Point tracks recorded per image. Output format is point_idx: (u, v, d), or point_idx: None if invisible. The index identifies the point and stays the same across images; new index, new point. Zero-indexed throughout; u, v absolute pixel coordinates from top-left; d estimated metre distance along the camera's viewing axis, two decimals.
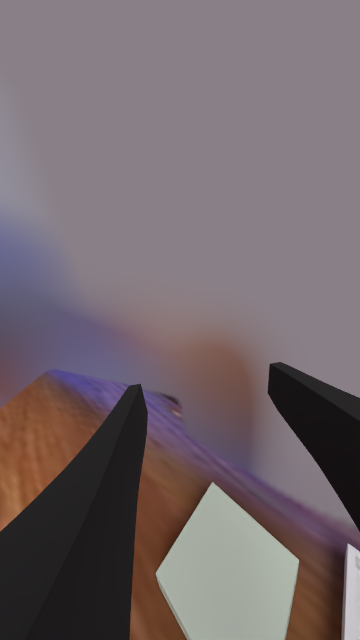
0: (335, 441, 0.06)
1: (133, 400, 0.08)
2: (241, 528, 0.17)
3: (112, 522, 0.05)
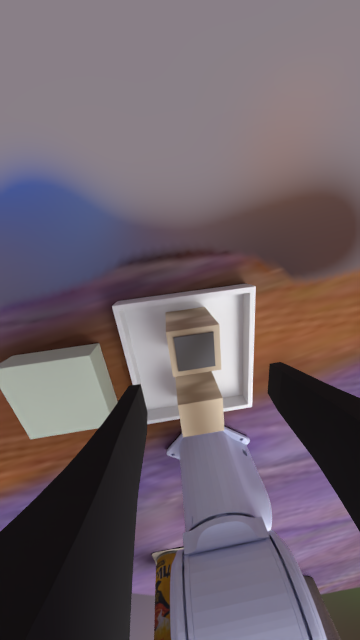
0: (335, 441, 0.06)
1: (133, 400, 0.08)
2: (45, 375, 0.16)
3: (112, 522, 0.05)
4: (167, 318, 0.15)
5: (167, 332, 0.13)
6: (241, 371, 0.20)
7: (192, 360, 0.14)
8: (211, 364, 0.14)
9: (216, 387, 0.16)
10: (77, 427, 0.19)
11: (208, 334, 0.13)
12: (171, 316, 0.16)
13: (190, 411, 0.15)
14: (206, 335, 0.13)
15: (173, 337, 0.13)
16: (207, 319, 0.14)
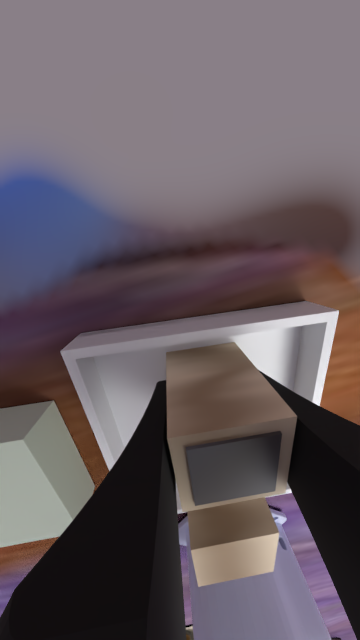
0: (293, 448, 0.06)
1: None
2: None
3: (168, 511, 0.05)
4: (170, 373, 0.08)
5: (171, 438, 0.05)
6: None
7: (227, 484, 0.06)
8: (266, 486, 0.06)
9: None
10: (19, 538, 0.11)
11: (267, 437, 0.05)
12: (177, 367, 0.08)
13: (214, 556, 0.08)
14: (266, 441, 0.05)
15: (186, 446, 0.05)
16: (256, 388, 0.06)
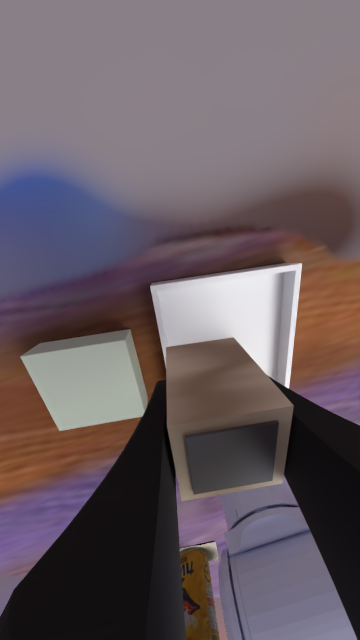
0: (293, 448, 0.06)
1: None
2: (77, 362, 0.15)
3: (168, 512, 0.05)
4: (169, 366, 0.08)
5: (170, 425, 0.05)
6: (276, 358, 0.19)
7: (225, 472, 0.06)
8: (264, 476, 0.06)
9: None
10: (108, 418, 0.18)
11: (265, 426, 0.06)
12: (177, 360, 0.08)
13: None
14: (263, 429, 0.05)
15: (185, 435, 0.05)
16: (254, 379, 0.07)
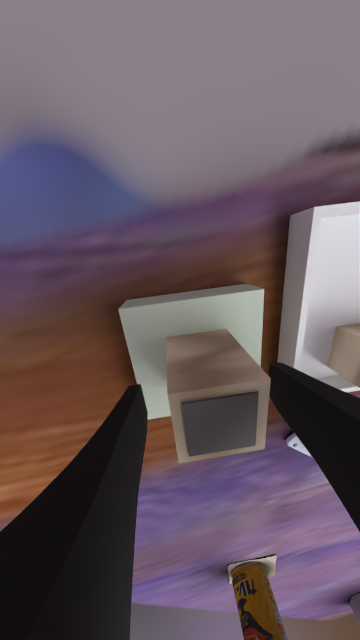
0: (335, 441, 0.06)
1: (133, 400, 0.08)
2: (193, 321, 0.11)
3: (112, 522, 0.05)
4: (169, 352, 0.09)
5: (170, 394, 0.06)
6: None
7: (216, 437, 0.07)
8: (248, 442, 0.08)
9: None
10: None
11: (247, 396, 0.07)
12: (176, 347, 0.10)
13: None
14: (246, 398, 0.07)
15: (182, 402, 0.07)
16: (241, 361, 0.08)
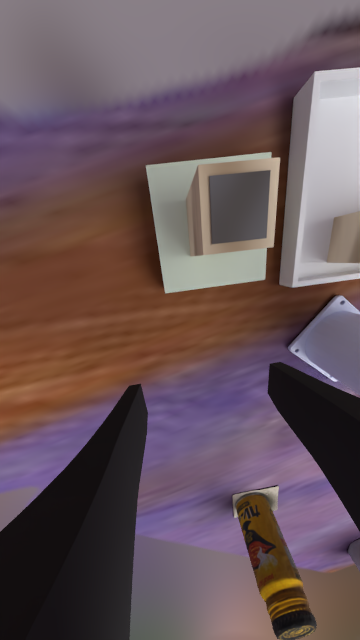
0: (335, 441, 0.06)
1: (133, 400, 0.08)
2: None
3: (112, 522, 0.05)
4: None
5: (200, 166, 0.08)
6: None
7: (234, 226, 0.09)
8: (260, 236, 0.09)
9: None
10: (223, 278, 0.15)
11: (261, 177, 0.08)
12: None
13: None
14: (260, 176, 0.08)
15: (209, 176, 0.08)
16: None
